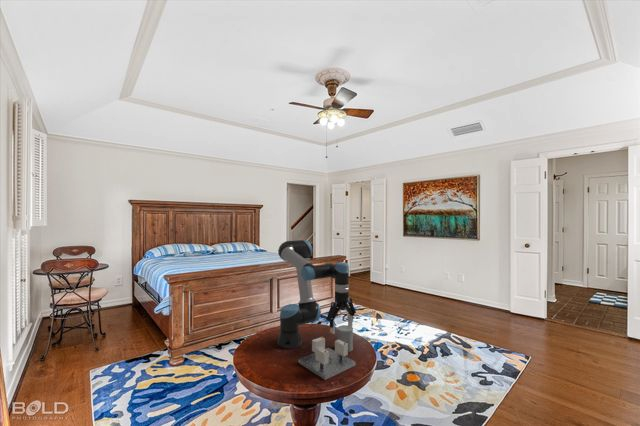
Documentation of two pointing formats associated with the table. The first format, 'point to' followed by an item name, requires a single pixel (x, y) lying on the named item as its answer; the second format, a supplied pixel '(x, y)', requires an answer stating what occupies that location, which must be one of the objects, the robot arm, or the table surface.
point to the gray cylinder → (345, 335)
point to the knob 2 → (341, 348)
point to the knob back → (318, 343)
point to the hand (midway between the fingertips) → (341, 329)
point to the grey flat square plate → (329, 369)
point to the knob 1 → (322, 356)
